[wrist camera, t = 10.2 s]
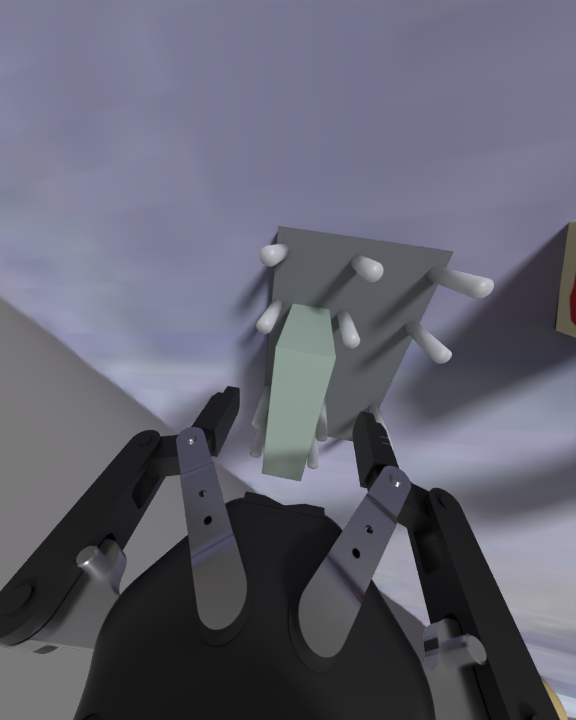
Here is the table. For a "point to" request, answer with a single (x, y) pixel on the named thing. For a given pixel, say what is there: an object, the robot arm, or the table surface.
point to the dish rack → (356, 316)
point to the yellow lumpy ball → (555, 701)
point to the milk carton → (568, 286)
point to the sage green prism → (298, 389)
